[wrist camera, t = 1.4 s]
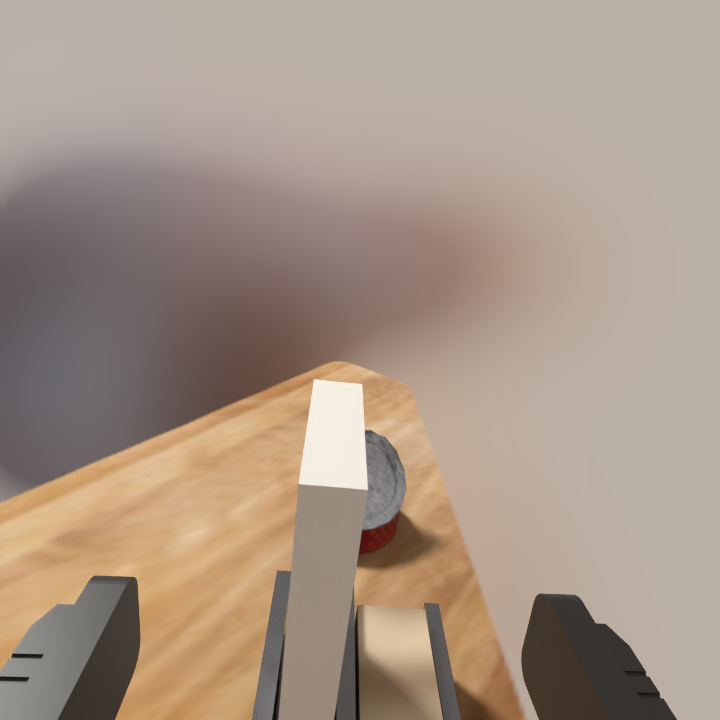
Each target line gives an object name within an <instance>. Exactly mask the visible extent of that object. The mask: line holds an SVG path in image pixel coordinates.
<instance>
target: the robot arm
mask: <svg viewBox="0 0 720 720" xmlns="http://www.w3.org/2000/svg"><path fill="white" fill-rule="evenodd" d="M139 648H140V621H139V602H138V584H137V580H136V578H135V577H119V576H93V577H92V578H91V579H90V580H89V582H88V583H87V585H86V586H85V588H84V590H83V591H82V593H81V595H80V596H79V598H78V600H77V601H76V603H75V604H74V605H65V604H57V605H56V606H55V607H54V608H53V609H51V610H50V611H49V612H48V613H46V614H45V615H44V616H43V617H42V618H40V619H39V620H38V621H37V622H35V623H34V624H33V625H32V626H31V627H30V628H29V630H28V631H27V633H26V634H25V635H24V637H23V638H22V640H21V641H20V643H19V644H18V646H17V647H16V649H15V650H14V652H13V653H12V657H11V659H8V660H7V662H6V663H5V665H4V666H3V668H2V669H1V671H0V720H115V718H116V715H117V713H118V710H119V708H120V706H121V703H122V701H123V698H124V696H125V693H126V691H127V688H128V686H129V683H130V681H131V678H132V676H133V673H134V670H135V667H136V663H137V659H138V654H139ZM521 660H522V672H523V677H524V681H525V684H526V687H527V690H528V692H529V695H530V698H531V700H532V703H533V705H534V708H535V710H536V713H537V716H538V718H539V720H677V719H676V718H675V716H674V715H673V713H672V711H671V710H670V708H669V707H668V705H667V704H666V702H665V700H664V699H661V698H660V693H659V691H658V690H657V688H656V687H655V685H654V684H653V682H652V681H651V679H650V677H647V676H646V671H645V670H644V668H643V667H642V665H641V663H640V662H639V660H638V659H637V657H636V656H635V654H634V652H633V651H632V649H631V648H630V646H629V645H628V644H627V643H625V642H624V641H623V640H622V639H621V638H620V637H619V636H618V635H617V634H616V633H615V632H613V630H612V629H610V628H609V627H608V626H607V625H606V624H596V623H595V622H594V620H593V618H592V617H591V615H590V614H589V612H588V610H587V608H586V607H585V605H584V603H583V602H582V600H581V599H580V598H579V597H578V596H576V595H563V594H538V595H537V596H536V598H535V601H534V604H533V608H532V612H531V616H530V620H529V624H528V628H527V633H526V636H525V641H524V644H523V648H522V658H521Z"/></svg>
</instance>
